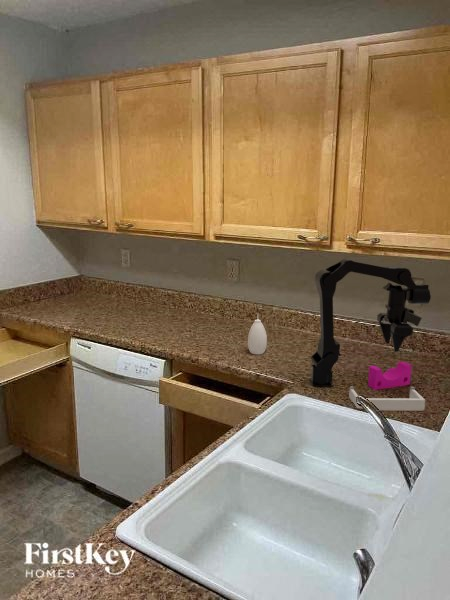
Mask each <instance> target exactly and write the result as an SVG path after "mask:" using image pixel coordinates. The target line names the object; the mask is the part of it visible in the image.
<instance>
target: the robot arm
mask: <svg viewBox="0 0 450 600" xmlns="http://www.w3.org/2000/svg"><path fill="white" fill-rule="evenodd" d="M349 273H355V274H360V275H361V274H362V275H367V276H371V277H375V278H376V277H377V278H382V279H384V280H387V281H389V282H388V283H387V284H386V285H384V286H383V287H382V289H383V290H385V291H387V292H388V295H387V297H388V298H387V303H386V304H385V305H384V306H385V308H386V312H380V313H378V314H377V315H376V316H377V317H376V321H377V324H378V325H379V326H378V327H379V328H380V331H381V334H382V336H383V341H384V343H385V344H390V342H392V346H393V350H394V352H399V351H400V349H401V347H402V344H403V342H404V341H405V339H406V338H407V337H410V336H411V335H412V336H413V335H414V328H413V327H412V326H411V325H410V324H413V325H414V326H415V327H418V326H419V324H420V323H421V321H422V319H423V318H422V317H421V316H419V315H417V314H415V310H413V309H411V308H408V307H407V306H406V303H407V302H408V304H410V305H411V304H413V305H428V304H429V303H430V302H431V292H430V289H429V284H427V283H419V284H418V283H415V281H414V279H413V278H412V272H411V270H410V269H409V268H407V267H404V266H400V265H377V264H374V263H368V262H362V261H357V260H352V259H350V258H342V259H341V260H340V261H338V262H336V263H334V264H332V265H331V266H328V267H327V268H326V269H321V270H319V271H318V272H317V273H315V275H314V282H315V286H316V290H317V292H318V296H319V312H320V314H319V316H320V338H319V339H318V340H319V341H318V345H317V350H316V352H314V353H313V354H312V355H311V356H310V360H311V362H312V364H311V373H310V378H309V381H310V384H311V385H312V387H332V386H333V385H332V383H333V371H332V369H333V368H334V366H335V364H336V363H337V362H338V361H339V358H340V357H339V356H341V355H342V354H341V353H340V350H341V349H340V348H341V344H340V343H339V342H338V341H337V340H336V339H335V336H334V332H335V331H334V295H335V293H336V289H337V283H338V282H339V281H341V280H344V279H343V278H345V277H346V276H347V275H348V274H349ZM390 282H392V283H395V284H396V285H395V284H392V283H390ZM403 286H404V287H403ZM409 323H410V324H409ZM391 340H392V341H391Z"/></svg>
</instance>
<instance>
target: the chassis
mask: <svg viewBox="0 0 450 600" xmlns="http://www.w3.org/2000/svg"><path fill="white" fill-rule="evenodd" d="M348 394H349V395H348V398H349V400H350V401H351V403H352V402H353V403H354V404H355V406H356V407H357V408H362V407H360V406H359V405H358V404H357V403H356V397H357V396H359V395H358V394H357V392H356V391H355V389H354V386H353V385H352V386H351V385H350V386H349V392H348ZM366 399H368V400H369V401H370V402H372V403H373V404H374V405H375V406H376V407H377V408H378V409H379V410H378V411H394V412H395V411H396V412H397V411H398V412H399V411H406V412H408V411H409V412H410V411H413V412H414V411H415V412H417V411H420V412H421V411H422V412H423V411H425V405H426V399H425V398H423V396H422V395H421V394H420V393H418V392H417V390H415V386H410V387H409V398H405V397H403V398H401V397H400V398H399V397H398V398H391V397H389V398H386V397H382V398H381V397H380V398H379V397H377V398H373V397H371V398H370V397H368V398H367V397H366ZM353 403H352V404H353ZM354 404H353V405H354ZM355 406H354V407H355ZM356 407H355V408H356Z"/></svg>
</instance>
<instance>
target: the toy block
mask: <svg viewBox="0 0 450 600" xmlns="http://www.w3.org/2000/svg"><path fill="white" fill-rule="evenodd" d="M412 367H413V366H412V364H411V363H408V362H406V361H404V360H403V361H398V362H397V364H396V367H390V368H388V369H387V370H386V371H385V372H382V369H381V368H380V367H378V366H375V365H369V367H368V368H369V369H368V381H367V386H368V387H370V388H371V389H373V390H374V391H376V390H383V389H390V388H397V387H402V386H409V385H410V384H411V375H412Z"/></svg>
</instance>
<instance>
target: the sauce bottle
mask: <svg viewBox="0 0 450 600" xmlns="http://www.w3.org/2000/svg"><path fill="white" fill-rule="evenodd" d="M256 317H257V319H255V320H254V322H253V324H251V327H250V329H249V332H248V335H247V336H248V337H247V348H248V350H249V352H250V354H251V355H259V356H260V355H263V354H264V353H265V351H266V348H267V345H268V336H267V331H266V329H265V326H264V325H263V323H262V320H261V319H259V314H257V316H256Z"/></svg>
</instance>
